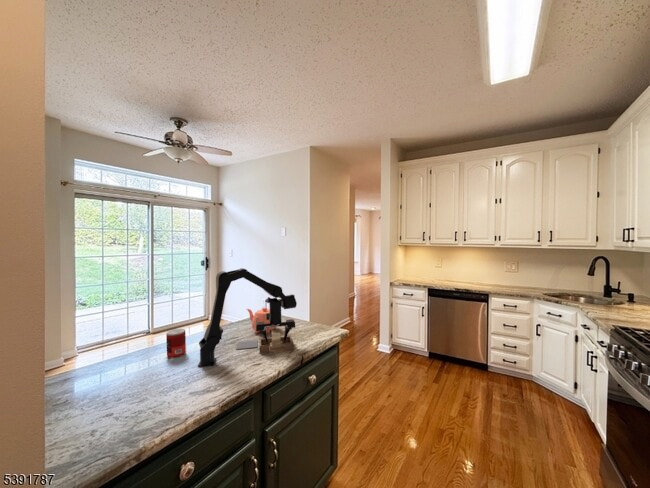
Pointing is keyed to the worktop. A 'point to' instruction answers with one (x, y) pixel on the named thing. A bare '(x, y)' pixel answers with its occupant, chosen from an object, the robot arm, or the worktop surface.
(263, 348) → the box
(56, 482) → the worktop surface
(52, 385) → the worktop surface
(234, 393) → the worktop surface
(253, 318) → the teapot
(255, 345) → the rubber mat
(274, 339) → the maple block
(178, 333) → the canned food
